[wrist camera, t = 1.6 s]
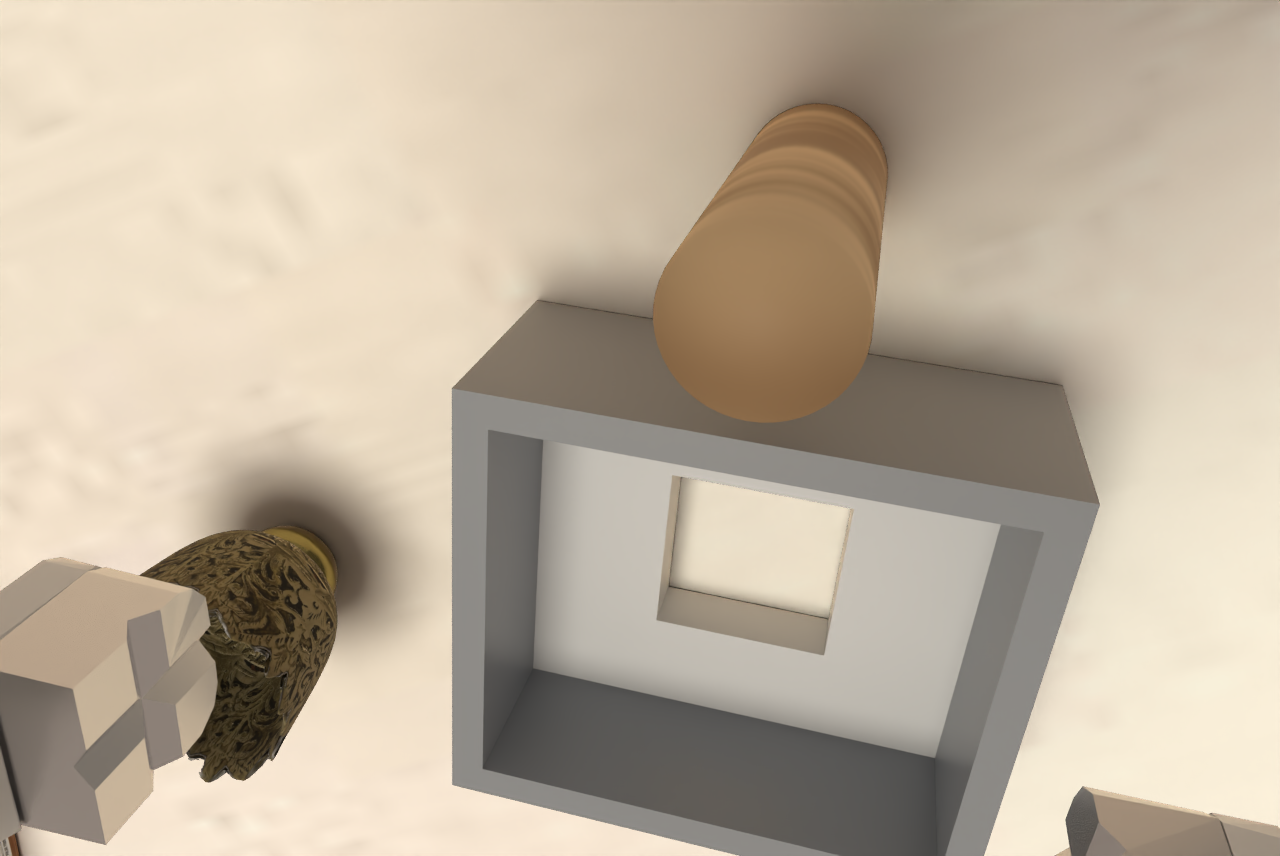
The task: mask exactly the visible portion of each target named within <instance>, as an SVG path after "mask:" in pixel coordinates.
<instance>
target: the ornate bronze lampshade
mask: <svg viewBox="0 0 1280 856" xmlns="http://www.w3.org/2000/svg"><path fill="white" fill-rule="evenodd" d="M139 576H143V577H147V578H151V579H155V580H159V581H163V582H167V583H171V584H175V585H179V586H183V587H187V588H191V589H194V590H195V591H197V592H198V593H200V594H201V595H203V596H204V597H206V603H207V608H208V614H209V619H210V626H209V628H208V629H207V630H206V631H205V633H204V634H203V635H202V636H201V638H200V639H199V641H200V642H201V644H202V645H203V646H204V648H205V649H206V650H207V652H208V653H209V654H210V656H211V657H212V658H213V660H214V661H215V663H216V672H217V681H218V683H217V691H216V698H215V705H214V708H213V710H212V712H211V714H210V717H209V719H208V721H207V723H206V726H205V728H204V730H203V732H202V734H201V736H200V737H199V738H198V739H197V740H196V742H195V743H194V744H193V745H192V746H191V748H190V749H189V750H188V751H187V752H186V754H187V755H188V757H189V758H188V759H189V760H190V761H192V760H195V759H197V758H201V759H203V760H205V761H204V766H203V768H202V769H201V772H199V774H200V777H201V778H202V779H203V780H204V781H205V782H212V781H214V780H217V779H218V778H219V777H221V776H222V775H224V774H225V773H226V772H227V773H228V774H229V775H230V776H231V777H232V778H234V779H237V780H242V781H244V780H246V779H248V778H249V777H250V776H252V775H253V774H254V773H255V772H256V771H257V770H258V769H259V768H260V767H261V766H262V765H263V764H264V763H265V761H266V760H267V759H271V761H272V760H273V759H274V758H275V756H276V755H277V753H278V751H279V748H280V746H281V744H282V743H283V741H284V739H285V737H286V736H287V734H288V732H289V730H290V729H291V727H292V725H293V724H294V722H295V720H296V718H297V717H298V715H299V713H300V711H301V710H302V708H303V706H304V704H305V703H306V701H307V699H308V697H309V696H310V694H311V692H312V690H313V688H314V687H315V685H316V683H317V681H318V679H319V677H320V675H321V673H322V671H323V669H324V667H325V665H326V663H327V661H328V658H329V656H330V653H331V650H332V647H333V644H334V641H335V636H336V629H337V609H336V602H335V598H334V595H333V594H334V592H335V589H336V584H337V578H338V571H337V565H336V561H335V559H334V557H333V554H332V553H331V551H330V550H329V548H328V547H327V546H326V544H325V543H324V542H323V541H322V540H321V539H319V538H318V537H317V536H315V535H314V534H313V533H311V532H309V531H307V530H305V529H302V528H299V527H295V526H277V527H272V528H269V529H266V530H263V531H261V532H259V531H250V530H235V531H227V532H222V533H217V534H214V535H211V536H208V537H205V538H203V539H200V540H198V541H196V542H194V543H192V544H190V545H188V546H186V547H184V548H182V549H180V550H179V551H177V552H175V553H174V554H172V555H170V556H169V557H167V558H165V559H164V560H162V561H161V562H159V563H158V564H156V565H154V566H153V567H151V568H150V569H148V570H147V571H145V572H144V573H142V574H141V575H139ZM197 760H199V759H197ZM228 771H229V772H228Z"/></svg>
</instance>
